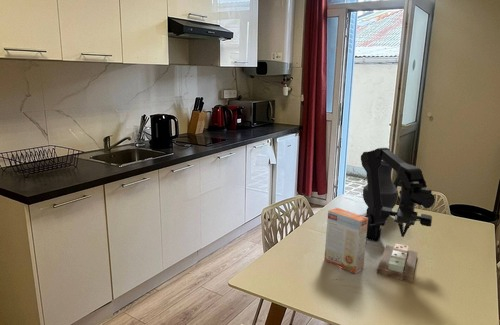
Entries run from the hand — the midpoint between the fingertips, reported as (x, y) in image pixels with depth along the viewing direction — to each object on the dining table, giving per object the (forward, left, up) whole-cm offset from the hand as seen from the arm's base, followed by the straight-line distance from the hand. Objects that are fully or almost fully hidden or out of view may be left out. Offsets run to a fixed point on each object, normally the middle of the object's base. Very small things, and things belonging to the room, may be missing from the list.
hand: (402, 236), depth 145 cm
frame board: (0, -7, -9) cm, 11 cm away
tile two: (0, -7, -7) cm, 10 cm away
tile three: (0, 0, -7) cm, 7 cm away
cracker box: (-18, -18, -9) cm, 27 cm away
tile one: (0, -14, -7) cm, 16 cm away
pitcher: (-14, +46, -9) cm, 49 cm away
